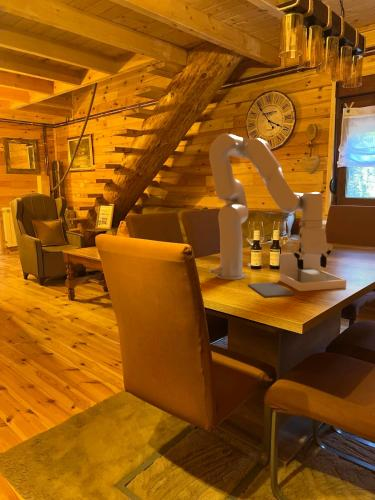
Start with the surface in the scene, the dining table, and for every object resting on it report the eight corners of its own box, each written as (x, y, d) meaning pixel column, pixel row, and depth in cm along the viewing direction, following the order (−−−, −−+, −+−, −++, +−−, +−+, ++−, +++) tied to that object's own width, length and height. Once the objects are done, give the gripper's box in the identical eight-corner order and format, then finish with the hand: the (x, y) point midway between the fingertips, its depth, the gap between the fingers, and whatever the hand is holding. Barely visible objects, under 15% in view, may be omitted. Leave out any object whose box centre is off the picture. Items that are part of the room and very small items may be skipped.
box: (312, 288, 140) (313, 275, 140) (297, 280, 152) (297, 268, 151) (325, 287, 141) (326, 274, 141) (309, 279, 153) (310, 268, 152)
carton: (300, 291, 136) (301, 262, 135) (279, 280, 153) (280, 254, 152) (346, 287, 140) (347, 259, 138) (320, 277, 157) (321, 251, 155)
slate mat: (265, 297, 130) (265, 295, 130) (248, 285, 146) (248, 284, 146) (294, 295, 132) (294, 293, 132) (274, 283, 149) (274, 282, 148)
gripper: (296, 226, 139) (296, 271, 141) (338, 223, 142) (337, 267, 144) (286, 225, 146) (287, 268, 148) (327, 222, 149) (326, 264, 152)
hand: (311, 268), depth 146 cm, fingers open, 9 cm apart
